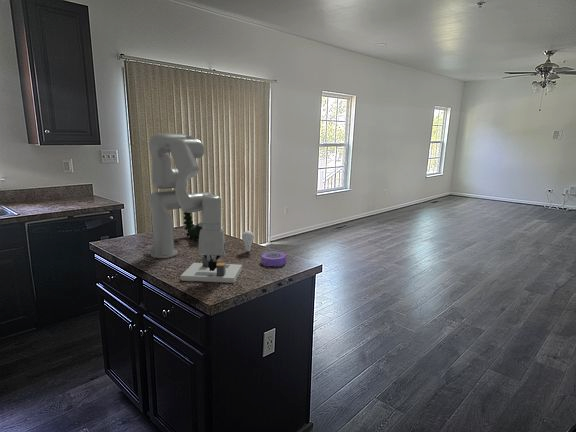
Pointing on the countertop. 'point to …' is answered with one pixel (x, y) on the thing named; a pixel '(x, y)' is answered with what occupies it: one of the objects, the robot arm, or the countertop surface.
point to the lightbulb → (247, 239)
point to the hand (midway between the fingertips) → (212, 269)
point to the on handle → (204, 261)
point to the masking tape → (273, 259)
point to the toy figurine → (191, 227)
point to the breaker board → (211, 273)
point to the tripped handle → (221, 268)
